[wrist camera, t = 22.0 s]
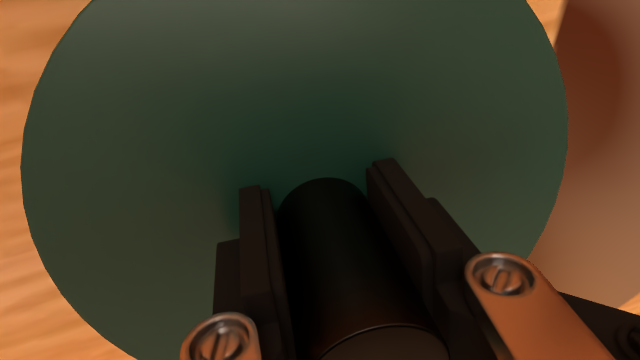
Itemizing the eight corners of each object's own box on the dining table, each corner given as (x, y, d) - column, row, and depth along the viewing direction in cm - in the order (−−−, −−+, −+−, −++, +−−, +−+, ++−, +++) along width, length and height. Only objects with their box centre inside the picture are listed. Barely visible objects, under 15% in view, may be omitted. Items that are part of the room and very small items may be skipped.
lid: (-28, 295, 12) (-245, 576, 6) (188, -279, 7) (68, -924, 2) (368, 396, 17) (429, 592, 12) (630, 105, 13) (914, 212, 8)
